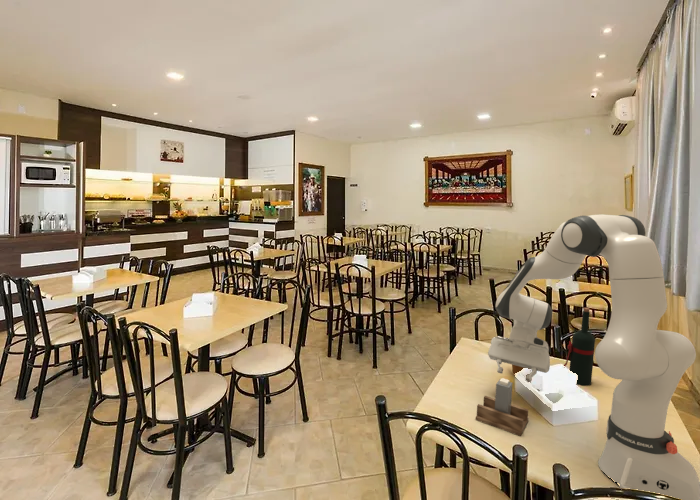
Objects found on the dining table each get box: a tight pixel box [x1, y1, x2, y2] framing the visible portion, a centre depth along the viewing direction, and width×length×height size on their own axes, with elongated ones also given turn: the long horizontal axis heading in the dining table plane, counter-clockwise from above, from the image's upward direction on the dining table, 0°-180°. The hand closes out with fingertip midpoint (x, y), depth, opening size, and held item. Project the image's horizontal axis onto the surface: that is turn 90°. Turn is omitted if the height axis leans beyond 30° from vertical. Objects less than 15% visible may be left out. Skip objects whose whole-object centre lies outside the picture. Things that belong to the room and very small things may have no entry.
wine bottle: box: [563, 307, 596, 387], centre depth 146 cm, size 8×10×30 cm
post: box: [494, 377, 513, 415], centre depth 121 cm, size 4×4×13 cm
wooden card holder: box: [474, 395, 529, 437], centre depth 122 cm, size 14×10×4 cm
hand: (513, 376), depth 129 cm, fingers open, 8 cm apart
